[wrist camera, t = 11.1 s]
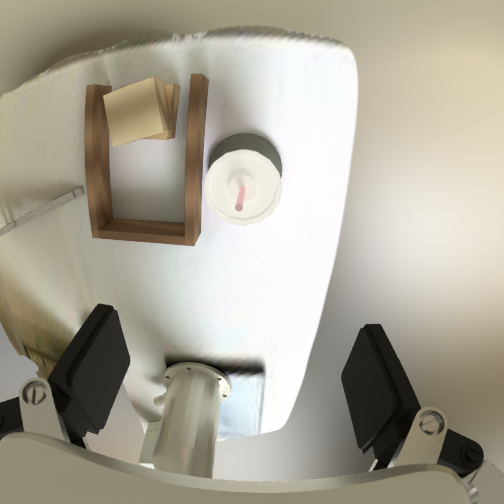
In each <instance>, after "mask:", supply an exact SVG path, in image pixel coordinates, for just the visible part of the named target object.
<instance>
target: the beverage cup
mask: <svg viewBox="0 0 504 504" xmlns="http://www.w3.org/2000/svg"><path fill="white" fill-rule="evenodd" d="M281 192H282V184H281V179H280V174H279V172H278V170H277V169H276V168H275V166H274V165H273V163H272V162H271V161H270V160H269V159H268V158H266V157H265V156H263V155H261V154H260V153H258V152H256V151H253V150H247V149H245V150H243V149H241V150H237V151H232V152H228V153H226V154H224V155H223V156H222V157H220V158H219V159H218V160H216V161H215V162H214V163H213V164H212V166H211V167H210V169H209V171H208V173H207V174H206V177H205V185H204V193H205V196H206V200H207V203H208V205H209V206H210V208H211V209H212V210H213V211H214V213H215V214H216V215H217V216H218V217H220V218H222V219H223V220H225V221H227V222H229V223H232V224H238V225H249V224H254V223H259V222H260V221H262V220H263V219H265V218H266V217H268V216H269V215H271V214H272V212H273V211H274V209H275V208H276V207H277V205H278V204H279V202H280V197H281Z"/></svg>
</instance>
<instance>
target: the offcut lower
mask: <svg viewBox="0 0 504 504" xmlns="http://www.w3.org/2000/svg"><path fill="white" fill-rule="evenodd" d="M164 85H165V91H166V96H167V102H168V107H169V113H170V118H171V123H172V129H173V130H172V131H168V132H164V133H160V134H157V135H153V136H150V137H146V138H143V139H163V140H168V139H172V138H175V129H176V119H177V110H178V102H179V94H180V87H179V86H177V85H174V84H164ZM123 87H126V86H122V88H123Z"/></svg>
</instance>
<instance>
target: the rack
mask: <svg viewBox="0 0 504 504" xmlns="http://www.w3.org/2000/svg"><path fill="white" fill-rule="evenodd" d="M208 82H209V80H208V79H207V78H206V77H205V76H204V75H203V74H191V83H190V95H189V108H188V123H187V141H186V167H185V223H175V222H160V221H144V220H127V219H113V217H112V205H111V192H110V172H109V126H108V121H107V115H106V110H105V104H104V98H103V96H104V95H106V94H109V93H111V87H109V86H103V85H95V84H93V85H88V86H87V91H86V107H85V167H86V184H87V196H88V206H89V215H90V223H91V230H92V237H93V238H102V239H114V240H126V241H138V242H150V243H162V244H174V245H186V246H194V245H195V243H196V241H197V239H198V237H199V235H200V233H201V201H202V172H203V151H204V134H205V119H206V106H207V94H208Z"/></svg>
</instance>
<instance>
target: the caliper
mask: <svg viewBox="0 0 504 504" xmlns="http://www.w3.org/2000/svg"><path fill="white" fill-rule="evenodd" d="M82 194H84V191H83V188H82V187H80V188H78V189H76V190H74V191H71V192H69V193H67V194H65V195H63V196H61V197H59V198H57V199H55V200H53V201H51V202H49V203H47V204H45V205H43V206H41V207H39V208H37V209H35V210H33V211H31V212H29V213H28V214H26V215H24V216H22V217H20V218H18V219H17V220H15V221H13V222H11V223H10V224H8V225H6V226H4V227H3V228H1V229H0V236H2V235H4V234H5V233H7V232H9V231H11V230H12V229H14V228H16V227H17V226H19V225H21V224H23V223H25V222H27V221H29V220H30V219H32V218H34V217H36V216H38V215H40V214H42V213H44V212H46V211H48V210H50V209H52V208H54V207H56V206H58V205H61V204H63V203H65V202H67V201H69V200H71V199H74V198H76V197H78V196H80V195H82Z"/></svg>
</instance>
